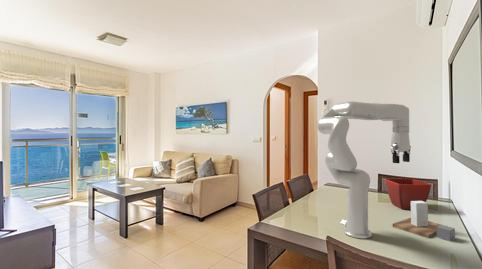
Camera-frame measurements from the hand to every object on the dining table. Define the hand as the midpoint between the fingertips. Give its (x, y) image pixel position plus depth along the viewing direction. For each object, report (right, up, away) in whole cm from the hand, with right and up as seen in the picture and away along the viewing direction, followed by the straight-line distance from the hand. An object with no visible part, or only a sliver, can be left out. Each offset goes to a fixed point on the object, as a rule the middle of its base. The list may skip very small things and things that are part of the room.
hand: (401, 162), depth 128 cm
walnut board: (+7, -33, -5) cm, 34 cm away
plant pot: (+24, -33, +30) cm, 51 cm away
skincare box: (+6, -32, -5) cm, 33 cm away
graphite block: (+10, -33, -16) cm, 38 cm away
